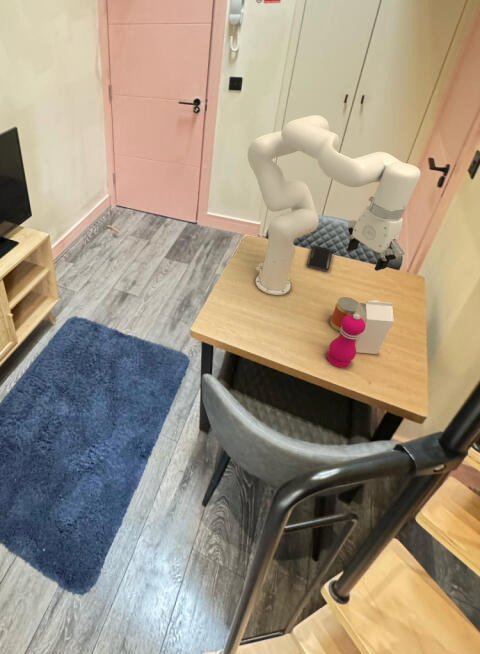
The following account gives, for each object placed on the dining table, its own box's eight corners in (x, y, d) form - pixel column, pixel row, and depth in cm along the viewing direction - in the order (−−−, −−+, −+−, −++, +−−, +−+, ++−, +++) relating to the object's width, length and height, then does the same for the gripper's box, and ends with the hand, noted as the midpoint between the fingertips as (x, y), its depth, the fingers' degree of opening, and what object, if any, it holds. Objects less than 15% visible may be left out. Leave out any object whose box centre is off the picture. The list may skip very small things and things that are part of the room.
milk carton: (377, 354, 126) (398, 311, 115) (352, 352, 128) (371, 309, 117) (369, 337, 132) (388, 295, 121) (345, 335, 133) (362, 293, 123)
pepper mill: (320, 351, 129) (337, 307, 117) (342, 349, 129) (361, 304, 117) (333, 370, 123) (353, 325, 111) (356, 367, 123) (378, 322, 112)
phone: (332, 250, 169) (328, 270, 159) (332, 252, 170) (327, 272, 159) (312, 245, 173) (306, 264, 162) (311, 247, 173) (306, 266, 163)
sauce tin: (325, 321, 139) (332, 300, 133) (340, 315, 141) (348, 294, 135) (340, 334, 134) (349, 313, 128) (356, 328, 135) (365, 307, 130)
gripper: (349, 197, 112) (331, 245, 122) (405, 229, 98) (380, 280, 108) (370, 191, 114) (351, 240, 124) (428, 222, 100) (402, 274, 110)
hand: (365, 259), depth 116 cm, fingers open, 9 cm apart
